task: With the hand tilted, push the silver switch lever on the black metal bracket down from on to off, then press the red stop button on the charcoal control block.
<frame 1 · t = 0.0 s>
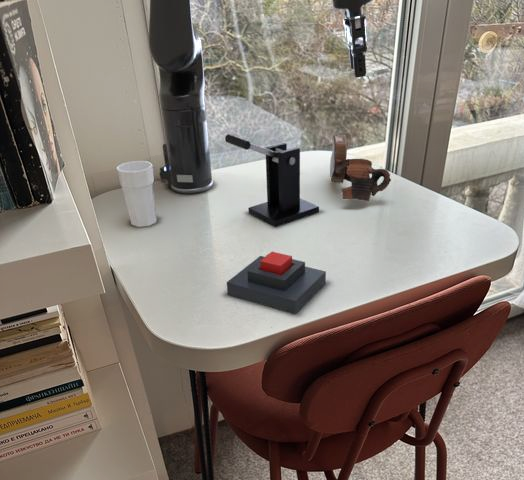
hand: (358, 72, 109), 22 cm above the table, tool pointing down, fingers open, 8 cm apart
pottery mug: (357, 196, 113), point 1 cm above the table, touching brown curved piece
lever: (262, 150, 101), point 13 cm above the table, hinge at 26.0°
cup: (144, 222, 110), on the table
stop button: (276, 263, 84), point 4 cm above the table, slide at 0.1 cm
brown curved piece: (334, 178, 122), point 1 cm above the table, touching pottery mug
bracket: (283, 212, 111), on the table
control block: (277, 289, 86), on the table
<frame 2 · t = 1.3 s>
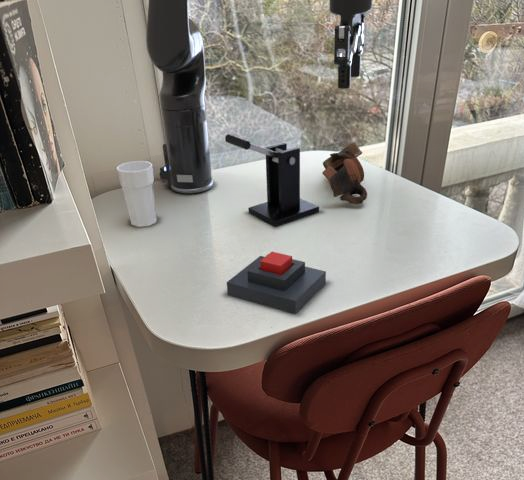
hand: (349, 82, 105), 22 cm above the table, tool pointing down, fingers open, 8 cm apart
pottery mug: (329, 187, 112), point 3 cm above the table, touching brown curved piece
brown curved piece: (324, 168, 121), point 3 cm above the table, touching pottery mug
everything else where it was.
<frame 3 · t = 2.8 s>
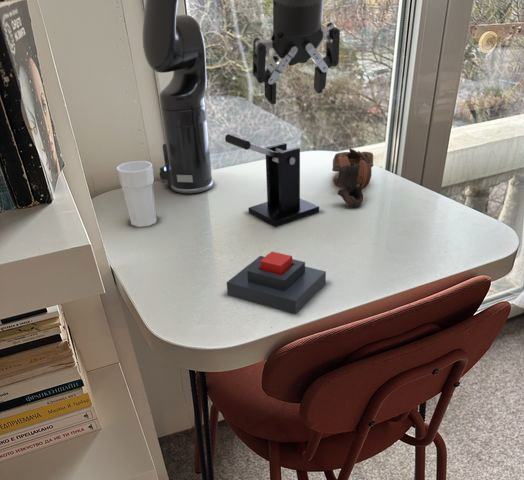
hand: (294, 96, 94), 22 cm above the table, tool tilted 20°, fingers open, 8 cm apart
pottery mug: (333, 177, 112), point 5 cm above the table, touching brown curved piece
brown curved piece: (332, 161, 121), point 5 cm above the table, touching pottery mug
everything else where it was.
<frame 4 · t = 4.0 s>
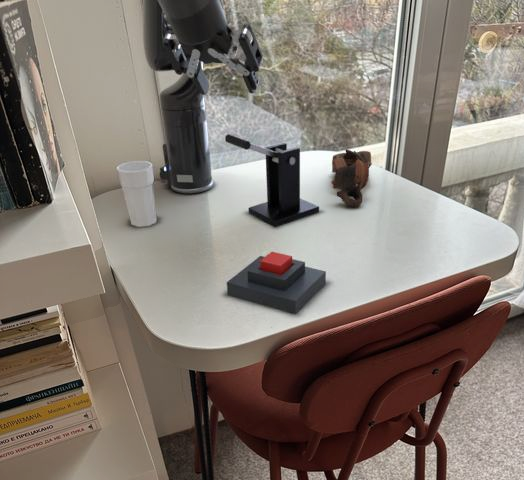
hand: (229, 90, 88), 25 cm above the table, tool tilted 35°, fingers open, 8 cm apart
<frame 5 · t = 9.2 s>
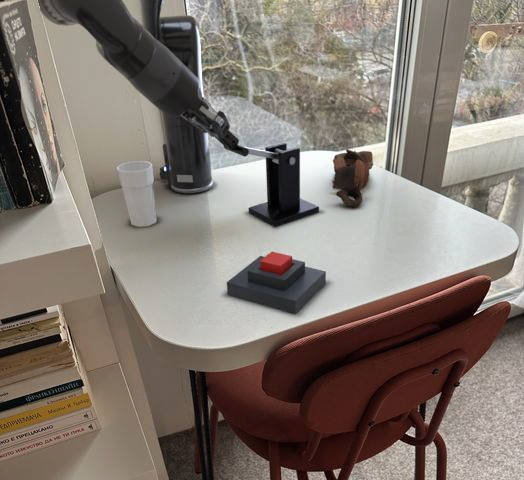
hand: (234, 145, 97), 15 cm above the table, tool tilted 45°, fingers closed
lever: (261, 153, 101), point 13 cm above the table, hinge at 19.9°, touching gripper
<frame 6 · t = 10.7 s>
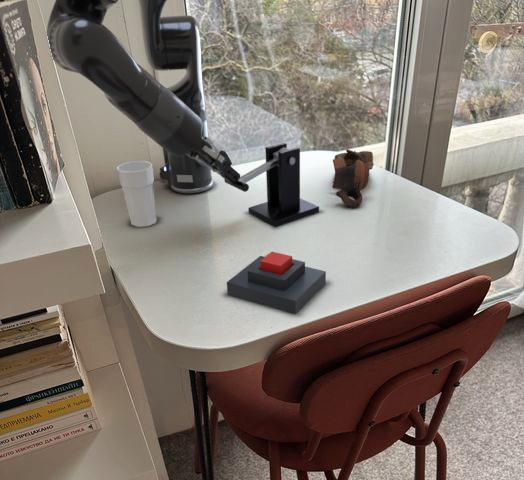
hand: (235, 179, 100), 9 cm above the table, tool tilted 45°, fingers closed
lever: (261, 169, 103), point 10 cm above the table, hinge at -12.8°
brown curved piece: (333, 162, 121), point 4 cm above the table, touching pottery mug
everything else where it was.
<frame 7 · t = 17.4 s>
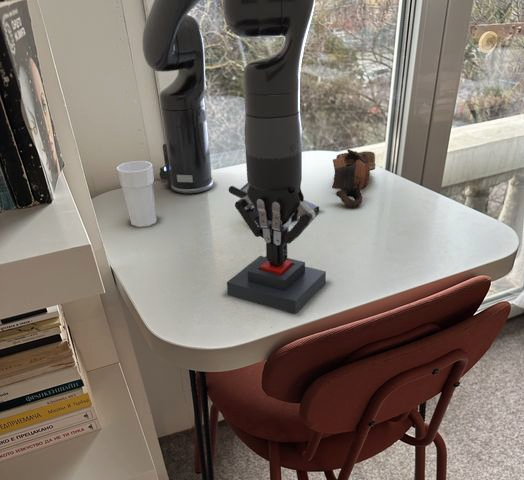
hand: (277, 263, 84), 4 cm above the table, tool pointing down, fingers closed
lever: (263, 174, 103), point 9 cm above the table, hinge at -24.5°
stop button: (276, 269, 84), point 4 cm above the table, slide at -0.8 cm, touching gripper
brown curved piece: (336, 162, 121), point 4 cm above the table, touching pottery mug
everything else where it was.
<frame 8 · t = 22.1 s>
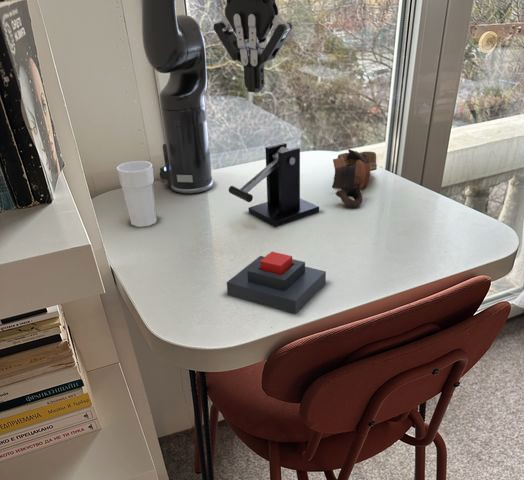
hand: (254, 91, 87), 25 cm above the table, tool pointing down, fingers closed
stop button: (276, 263, 84), point 4 cm above the table, slide at 0.1 cm
at the end: lever at -24° (first picture: +26°); stop button pushed in 1.1 cm at the most during the clip, back to where it started at the end; stop button slide at 0.1 cm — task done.
